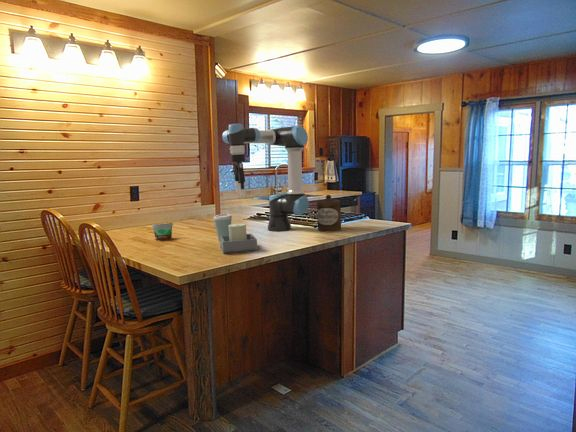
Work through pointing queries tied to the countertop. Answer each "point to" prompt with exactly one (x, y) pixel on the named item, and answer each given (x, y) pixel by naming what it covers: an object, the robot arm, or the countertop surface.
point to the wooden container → (329, 214)
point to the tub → (238, 244)
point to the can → (237, 232)
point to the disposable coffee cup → (222, 224)
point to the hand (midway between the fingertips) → (240, 194)
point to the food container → (163, 231)
